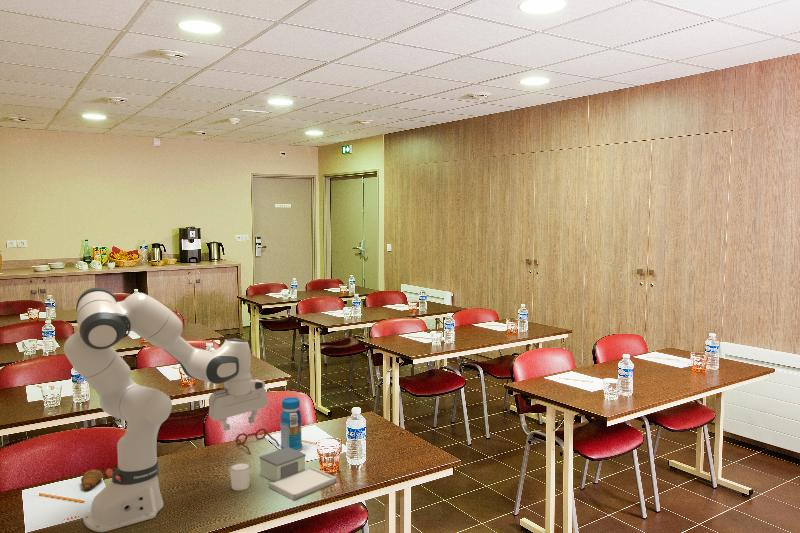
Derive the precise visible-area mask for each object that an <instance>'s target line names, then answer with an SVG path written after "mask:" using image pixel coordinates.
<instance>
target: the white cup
mask: <svg viewBox="0 0 800 533" xmlns="http://www.w3.org/2000/svg"><path fill="white" fill-rule="evenodd" d="M251 466H252V465H251V464H249V463H247V462H239V463H235V464H232V465H231V466H230V467H229V472H230V482H231V489H232V490H233V491H244V490H247V489H248V488H249V487H250V482H251V481H250V478H251V469H252V467H251Z"/></svg>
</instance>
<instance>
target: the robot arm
mask: <svg viewBox="0 0 800 533" xmlns="http://www.w3.org/2000/svg"><path fill="white" fill-rule="evenodd" d="M75 306H76V307H75V312H76V313H75V314H76V323H77V326H78V330H77V331H75V332H74V333H72V334H71V335H69V337H68V338H67V339H66V340H65V342H64V345H63V352H64V354H65V356H66V358H67V360H68V361H69V363H70V364H71V366H72V367H73V368H74V370H75V371H76V372H77V373H78V374H79V376H81V377H82V378H83V380H85V382H86V383H87V384H88V385H89V386H90V387H91V388H92V389H93V391H95V392H96V394H97V396H98V398H99V406H100V408H101V410H102V411H104V412H105V413H106V414H108V415H109V416H111V417H112V418H115V419H118V420H121V421H126V431H125V434H124V435H123V436H121V437H120V439H118V441H117V445H116V446H117V447H116V448H117V466H116V469H115V470H113V469H112V468H107V469H106V471H105V475H106V476H108V478H111V481H110V482H109V483H108V484H107V485H105V487H103V489H101V491H99V492H98V494H96V495H95V496H94V498H93V500H92V503H91V509H90V511H87V512H86V513H84V514H83V518H82V522H83V524H84V525H85V526H86V528H88V529H89V530H91V531H94V532H97V533H104V532H105V533H106V532H109V531H112V530H116V529H120V528H122V527H126V526H130V525H133V524H137V523H141V522H144V521H147V520H151V519H154V518H155V517H157V514H158V512H159V511H160V510H162V509H163V507H164V501H163V500H164V499H163V498H162V495H161V491H160V484H159V476H160V474H159V473H160V472H159V471H160V470H159V469H160V467H159V461H158V459H157V457H158V456H157V453H158V452H157V446H158V445H157V443H158V442H157V440H158V434H159V430H160V427H161V426H162V424H163V423H165V421H167V419H168V418H169V417H170V415H171V412H172V408H173V402H172V400H171V398H170V396H169V395H168V394H166V393H165V392H163V391H161V390H160V389H157V388H154V387H149V386H145V385H141V384H138V383H136V382H135V381H134V379H132V377H131V367H130V366H129V364H127V362H126V361H125V360H124V358H123V357H122V356H121V355H119V353H118V352H117V351H116V349H115V348H113V346H115V345H117V344H118V343H120V341H121V340H122V339H124V338H127V337H128V336H129V334H130V333H131V331H132V332H133V333H135V334H136V335H138V336H140V338H142V339H143V340H144V341H145V342H148V343H149V344H151V345H153V346H155V347H157V348H159V349H162V350H163V351H164V352H166V353H167V354H168V355H170V356H171V357H173V358H174V359H175V360H176V361H177V362H178V364H179V365H180V367H181V369H182V371H183V372H184V374H185V375H186V376H187V377H189V378H190V379H194V380H195V379H196V380H200V381H203V382H205V383H210V384H216V385H218V384H219V385H220V384H224V386H223V387H224V389H220V390H215V391H213V392H212V393H211V394H210V395H209V397H208V398H209V399H208V400H209V408H208V417H209V418H210V419H211V420H214V421H220V422H221V425H222V426H223V428H222V429H223V431H230V429H231V425H230V424H229V423H227V421H228V418H231V417H234V416H238V415H241V414H245V413H248V412H251V414H250V416H249V417H248V418H247V419H248V423H249V424H254V423H255V422H256V417H257V414H258V413H259V412H258V410H260V409H264V408H266V406H267V405H268V396H267V390H266V388H265V386H266V383H265V381H262V379H261V380H260V379H257V378H253V377H252V372H251V365H252V358H251V357H252V356H251V348H250V344H249V343H248V341H247V340H245V339H241V338H234V337H231V338H227V339H225V340H224V342H223V344H221V346H220V347H218V348H217V349H216V350H214V351H210V350H207V349H204V348H202V347H196V346H192V345H191V344H190V343H189V342H188V341H187V340H186V339H184V338H183V337H182V336H181V335H182V333H183V322H182V320H181V319H180V318H179V317H178V315H177V314H176V313H175V312H173V311H172V310H171V309H170V308H168V307H167V306H166V305H164V304H163V303H162V302H160V301H159V300H157V299H155V298H154V297H152V296H150V295H148V294H146V293H144V292H134V293H132V294H130V295H128V296H127V297H125V299H124V300H121V301H117V298H116V296H115V295H114V294H113V293H112V292H111V291H110V290H108V289H106V288H103V287H91V288H89V289H86V290H85V291H84V292H82V293H81V294H80V296H79V298H78V299H77V302H76V305H75Z"/></svg>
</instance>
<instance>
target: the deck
mask: <svg viewBox="0 0 800 533" xmlns="http://www.w3.org/2000/svg"><path fill="white" fill-rule="evenodd" d="M258 458H259V459H260V460H259V465H260V466H259V467H260V471H259V472H260V474H259V475H260V476H262V477H263V478H267V479H268V480H270V481H269V482H268V483H267V484H268V488H269V489H271V490H272V491H275V492H277V493H278V494H281V495H282V496H284V497H286V498H288V499H290V500H292V501H297V500H299V499H302V498H304V497H306V496H309V495H310V494H313V493H315V492H319V491H320V490H322V489H325V488H327V487H329V486H332V485H334V484H336V483H337V477H336V476H334V475H331V474H330V473H327V472H325V471H323V470H320V469H318V468H316V467H313V466H311V465H310V466H308V468H307V469H306V453H303V452H302V451H301V452H300V450H299V451H296V450H294V449H292V448H289V447H286V448H283V449H281V448H280V449H278V450H275V451H271V452H269V453H267V454H266V453H265V454H263V455H260V456H259V457H258ZM271 481H272V482H271Z"/></svg>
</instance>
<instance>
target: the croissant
mask: <svg viewBox="0 0 800 533" xmlns="http://www.w3.org/2000/svg"><path fill="white" fill-rule="evenodd" d="M103 477H104V475H103V473H102V471H101V470H100V469H90V470H87V471H86V472H85V473H83V475H82V476H81V478H80V481H81V487H82V489H83V490H84V491H85V492H87V491H90V490H92V489H93V488H95V486H97V485H98V484H99V483H100V482H101V480H102V478H103Z"/></svg>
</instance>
